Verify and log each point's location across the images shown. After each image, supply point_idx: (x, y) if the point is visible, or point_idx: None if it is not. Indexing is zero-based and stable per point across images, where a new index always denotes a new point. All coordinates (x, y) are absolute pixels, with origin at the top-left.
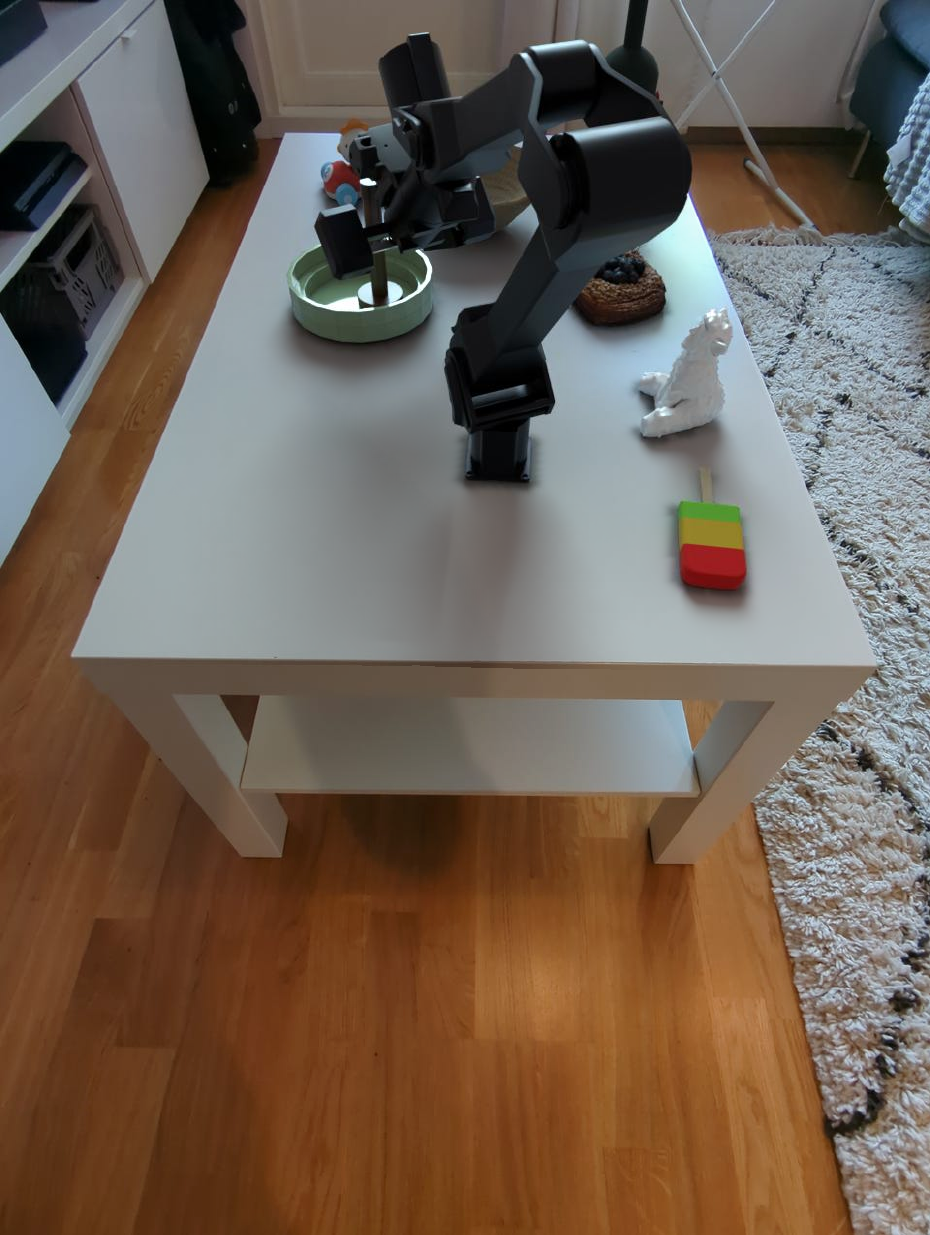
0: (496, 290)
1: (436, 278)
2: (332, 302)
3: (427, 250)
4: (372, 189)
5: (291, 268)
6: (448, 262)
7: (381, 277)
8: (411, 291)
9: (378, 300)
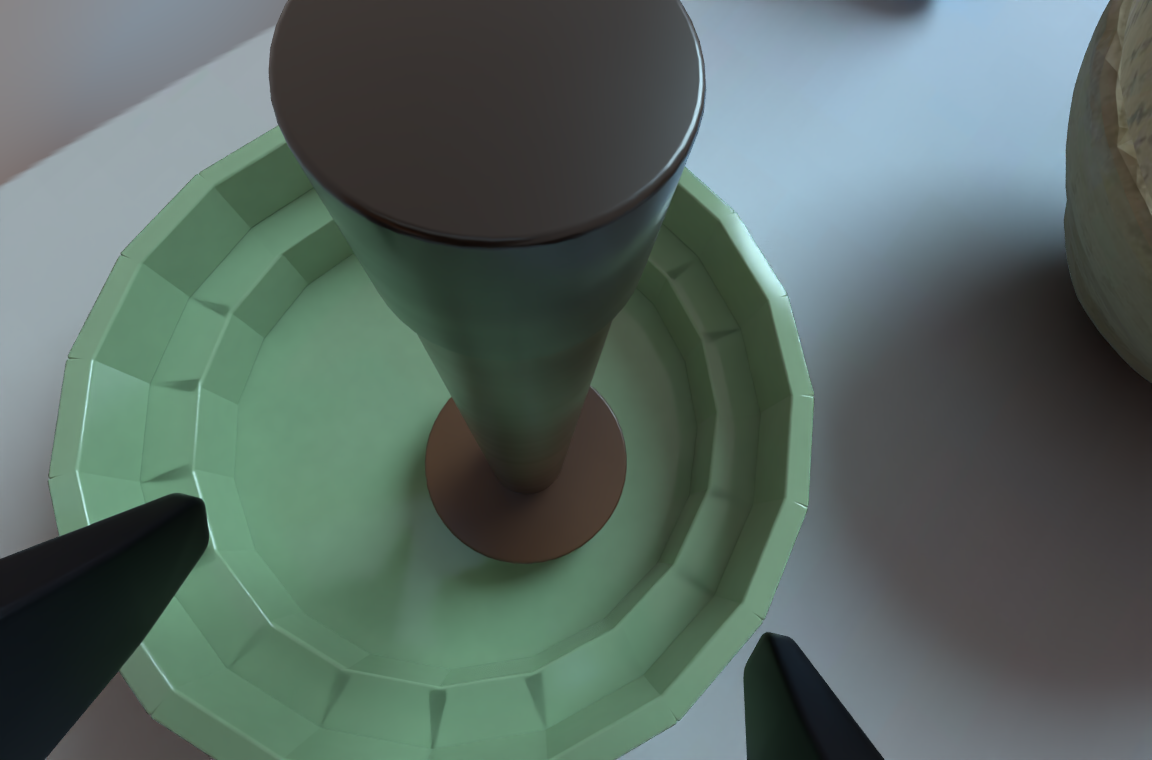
0: (979, 713)
1: (819, 459)
2: (384, 338)
3: (747, 750)
4: (395, 269)
5: (250, 152)
6: (920, 403)
7: (511, 482)
8: (671, 489)
9: (477, 504)
